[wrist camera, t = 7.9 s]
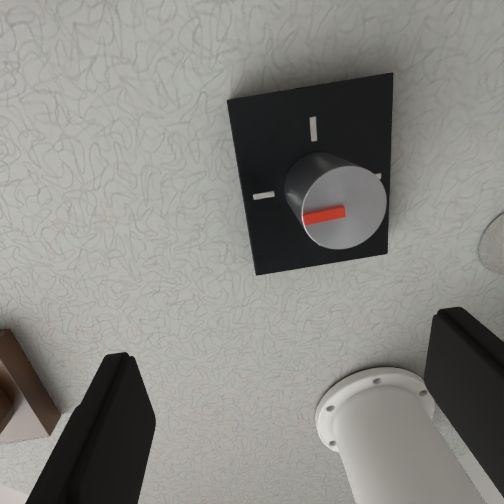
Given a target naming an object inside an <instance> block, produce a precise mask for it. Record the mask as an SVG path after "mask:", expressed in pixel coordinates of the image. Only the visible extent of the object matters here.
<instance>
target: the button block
mask: <svg viewBox="0 0 504 504" xmlns="http://www.w3.org/2000/svg"><path fill="white" fill-rule="evenodd" d="M60 417H61V415H60V413H59V412H58V410H57V408H56V407H55V405H54V403H53V402H52V400H51V398H50V396H49V395H48V393H47V391H46V390H45V388H44V386H43V385H42V383H41V381H40V380H39V378H38V376H37V374H36V373H35V371H34V369H33V368H32V366H31V364H30V363H29V361H28V359H27V358H26V356H25V354H24V352H23V351H22V349H21V347H20V346H19V344H18V342H17V341H16V339H15V337H14V336H13V334H12V332H11V330H10V329H5V330H0V445H1V444H7V443H13V442H19V441H25V440H31V439H37V438H43V437H49V436H50V435H51V433H52V432H53V430H54V428H55V426H56V424H57V422H58V421H59V419H60Z"/></svg>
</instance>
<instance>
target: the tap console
mask: <svg viewBox="0 0 504 504" xmlns="http://www.w3.org/2000/svg"><path fill="white" fill-rule="evenodd" d="M392 102H393V72H392V73H386V74H380V75H374V76H368V77H362V78H356V79H350V80H344V81H338V82H332V83H326V84H320V85H314V86H308V87H302V88H296V89H290V90H284V91H278V92H272V93H266V94H260V95H254V96H248V97H242V98H236V99H230V100H227V105H228V111H229V117H230V123H231V129H232V135H233V141H234V147H235V153H236V159H237V165H238V171H239V177H240V183H241V189H242V195H243V201H244V207H245V213H246V219H247V225H248V231H249V237H250V243H251V249H252V255H253V261H254V267H255V273H256V276H257V275H263V274H269V273H275V272H281V271H287V270H293V269H299V268H305V267H311V266H317V265H323V264H329V263H335V262H341V261H347V260H353V259H359V258H366V257H372V256H378V255H384V254H387V253H388V223H389V193H390V162H391V132H392ZM316 152H325V153H329V154H332V155H334V156H337V157H339V158H341V159H344V160H346V161H348V162H351V163H353V164H355V165H358V166H360V167H362V168H365V169H367V170H369V171H370V172H372V173H373V174H374V175H376V176H377V177H378V179H379V180H380V181H381V183H382V185H383V187H384V189H385V193H386V200H387V204H386V211H385V215H384V218H383V220H382V222H381V224H380V226H379V227H378V229H377V230H376V231H375V232H374V233H373V234H372V235H371V236H370V237H369V238H368V239H367V240H365V241H364V242H362V243H360V244H358V245H356V246H354V247H351V248H347V249H330V248H326V247H323V246H321V245H319V244H317V243H316V242H315V241H313V240H312V239H311V238H310V237H309V235H308V234H307V232H306V231H305V229H304V228H303V226H302V225H301V223H300V221H299V220H298V218H297V217H296V215H295V214H294V212H293V210H292V209H291V207H290V206H289V204H288V202H287V200H286V197H285V191H284V186H285V180H286V177H287V174H288V172H289V170H290V169H291V167H292V166H293V165H294V164H295V163H296V162H297V161H298V160H299V159H301V158H302V157H304V156H306V155H308V154H311V153H316Z"/></svg>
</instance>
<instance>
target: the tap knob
mask: <svg viewBox="0 0 504 504" xmlns="http://www.w3.org/2000/svg"><path fill="white" fill-rule="evenodd" d="M284 191H285V197H286V200H287V202H288V204H289V206H290V207H291V209H292V210H293V212H294V214H295V215H296V217H297V218H298V220H299V221H300V223H301V225H302V226H303V228H304V229H305V231H306V232H307V234H308V235H309V237H310V238H311V239H312V240H313V241H315V242H316V243H317V244H319V245H321V246H323V247H326V248H330V249H347V248H351V247H354V246H356V245H358V244H360V243H362V242H364V241H365V240H367V239H368V238H369V237H370V236H371V235H372V234H373V233H374V232H375V231H376V230H377V229H378V227H379V226H380V224H381V222H382V220H383V218H384V215H385V211H386V204H387V200H386V193H385V189H384V187H383V185H382V183H381V181H380V180H379V179H378V177H377V176H376V175H374V174H373V173H372V172H370V171H369V170H367V169H365V168H362V167H360V166H358V165H355V164H353V163H351V162H348V161H346V160H344V159H341V158H339V157H337V156H334V155H332V154H329V153H325V152H316V153H311V154H308V155H306V156H304V157H302V158H301V159H299V160H298V161H297V162H296V163H295V164H294V165H293V166H292V167H291V169H290V170H289V172H288V174H287V177H286V180H285V186H284Z"/></svg>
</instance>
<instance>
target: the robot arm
mask: <svg viewBox="0 0 504 504" xmlns="http://www.w3.org/2000/svg"><path fill="white" fill-rule="evenodd" d="M435 402H436V403H437V404H438V406H439V407H440V409H441V410H442V411H443V413H444V414H445V416H446V417H447V418H448V420H449V421H450V423H451V424H452V426H453V427H454V428H455V430H456V431H457V433H458V434H459V435H460V437H461V438H462V440H463V441H464V442H465V444H466V445H467V447H468V448H469V449H470V451H471V452H472V453H473V455H474V456H475V458H476V459H477V461H478V462H479V464H480V465H481V466H482V468H483V469H484V471H485V472H486V473H487V475H488V476H489V478H490V479H491V480H492V482H493V483H494V485H495V486H496V488H497V489H498V490H499V492H500V493H501V494H502V496H503V497H504V342H503V341H502V340H500V339H499V338H498V337H497V336H496V335H494V334H493V333H492V332H491V331H490V330H489V329H487V328H486V327H485V326H484V325H483V324H481V323H480V322H479V321H478V320H477V319H475V318H474V317H473V316H472V315H471V314H470V313H468V312H467V311H466V310H465V309H463V308H462V307H453V308H445V309H440V310H439V311H438V313H437V315H434V316H433V320H432V326H431V333H430V340H429V347H428V353H427V360H426V367H425V374H424V381H423V380H422V378H420V377H419V376H417V375H416V374H414V373H413V372H410V371H407V370H405V369H400V368H394V367H380V368H372V369H367V370H364V371H360V372H357V373H355V374H353V375H350V376H348V377H346V378H344V379H343V380H341V381H339V382H338V383H337V384H335V385H334V386H333V387H332V388H331V389H329V390H328V392H327V393H326V394H325V395H324V396H323V397H322V399H321V401H320V403H319V404H318V407H317V410H316V413H315V423H316V427H317V431H318V434H319V437H320V439H321V440H322V441H323V443H324V444H325V445H326V446H327V447H329V448H330V449H331V450H333V451H335V452H337V453H339V454H340V455H341V458H342V461H343V465H344V468H345V471H346V474H347V477H348V480H349V483H350V486H351V489H352V492H353V496H354V499H355V502H356V504H487V503H486V502H485V500H484V499H483V497H482V496H481V494H480V493H479V491H478V490H477V488H476V487H475V485H474V484H473V482H472V481H471V479H470V477H469V476H468V474H467V473H466V471H465V470H464V468H463V467H462V465H461V464H460V462H459V461H458V459H457V458H456V456H455V455H454V453H453V451H452V450H451V448H450V447H449V445H448V444H447V442H446V441H445V439H444V438H443V436H442V435H441V433H440V432H439V430H438V429H437V427H436V426H435V424H434V422H433V421H432V418H433V414H434V411H435ZM155 426H156V419H155V414H154V411H153V408H152V405H151V403H150V400H149V397H148V394H147V391H146V388H145V386H144V383H143V380H142V377H141V374H140V371H139V369H138V366H137V363H136V360H135V358H134V357H133V356H129V355H128V353H127V352H123V353H115V354H108V355H106V356H105V357H104V359H103V361H102V363H101V365H100V367H99V369H98V371H97V373H96V375H95V376H94V378H93V380H92V382H91V384H90V386H89V388H88V390H87V392H86V394H85V396H84V398H83V400H82V402H81V404H80V405H78V406H77V407H76V408H75V410H74V411H73V413H72V415H71V417H70V419H69V421H68V423H67V424H66V426H65V428H64V430H63V432H62V434H61V436H60V438H59V440H58V442H57V444H56V446H55V448H54V449H53V451H52V453H51V455H50V457H49V459H48V461H47V463H46V465H45V467H44V469H43V471H42V473H41V474H40V476H39V478H38V480H37V482H36V484H35V486H34V488H33V490H32V492H31V494H30V496H29V498H28V499H27V501H26V503H25V504H138V499H139V495H140V491H141V487H142V482H143V478H144V474H145V470H146V465H147V461H148V457H149V453H150V448H151V444H152V440H153V435H154V431H155Z"/></svg>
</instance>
